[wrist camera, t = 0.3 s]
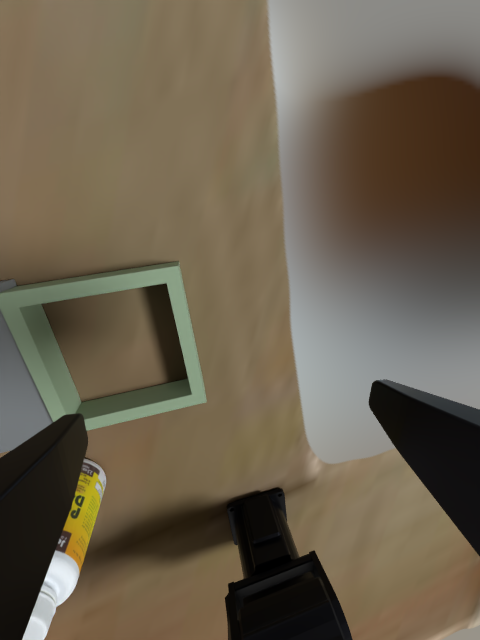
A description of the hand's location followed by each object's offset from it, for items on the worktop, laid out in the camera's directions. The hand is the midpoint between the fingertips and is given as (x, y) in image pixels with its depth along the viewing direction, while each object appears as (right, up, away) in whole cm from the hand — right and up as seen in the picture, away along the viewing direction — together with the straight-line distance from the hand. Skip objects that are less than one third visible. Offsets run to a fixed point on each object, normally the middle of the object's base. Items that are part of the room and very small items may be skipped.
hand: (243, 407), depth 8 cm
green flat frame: (-13, 0, +12) cm, 18 cm away
